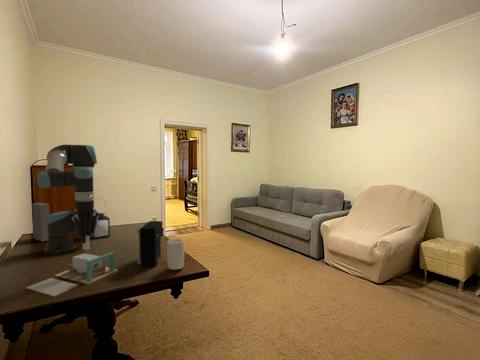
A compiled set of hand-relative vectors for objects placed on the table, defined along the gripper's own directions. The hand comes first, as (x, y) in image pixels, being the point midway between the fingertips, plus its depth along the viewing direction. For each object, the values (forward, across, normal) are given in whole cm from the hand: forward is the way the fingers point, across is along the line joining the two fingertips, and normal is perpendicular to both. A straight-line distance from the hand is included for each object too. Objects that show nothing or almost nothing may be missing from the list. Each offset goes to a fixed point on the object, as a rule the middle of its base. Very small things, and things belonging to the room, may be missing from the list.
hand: (86, 248), depth 124 cm
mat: (+12, -16, 0) cm, 20 cm away
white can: (+12, +21, -36) cm, 44 cm away
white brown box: (+11, 0, 0) cm, 11 cm away
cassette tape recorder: (+13, +28, +81) cm, 86 cm away
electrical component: (+12, +25, -17) cm, 33 cm away
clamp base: (+12, 0, 0) cm, 12 cm away
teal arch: (+12, 0, -10) cm, 16 cm away
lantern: (+13, +50, +52) cm, 73 cm away
